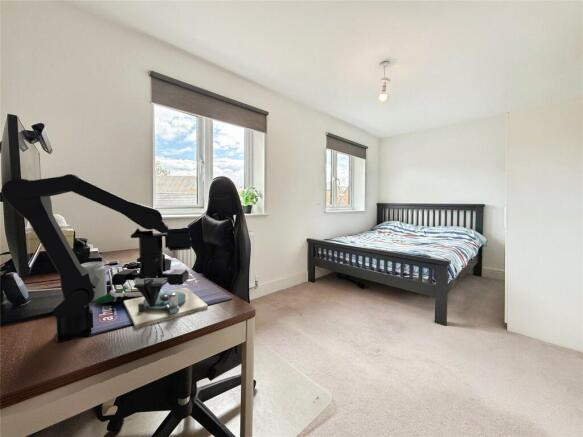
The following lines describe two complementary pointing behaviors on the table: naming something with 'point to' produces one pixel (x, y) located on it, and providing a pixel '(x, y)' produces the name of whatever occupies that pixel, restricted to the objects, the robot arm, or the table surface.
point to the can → (101, 274)
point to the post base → (148, 317)
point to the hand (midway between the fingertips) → (152, 306)
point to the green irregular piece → (111, 295)
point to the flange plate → (168, 301)
